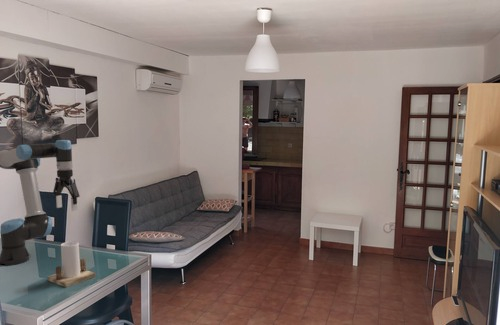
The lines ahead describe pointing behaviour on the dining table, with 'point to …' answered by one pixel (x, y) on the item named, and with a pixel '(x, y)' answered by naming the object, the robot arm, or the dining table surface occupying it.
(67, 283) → the peg board
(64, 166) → the robot arm
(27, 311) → the dining table surface
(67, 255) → the cup
